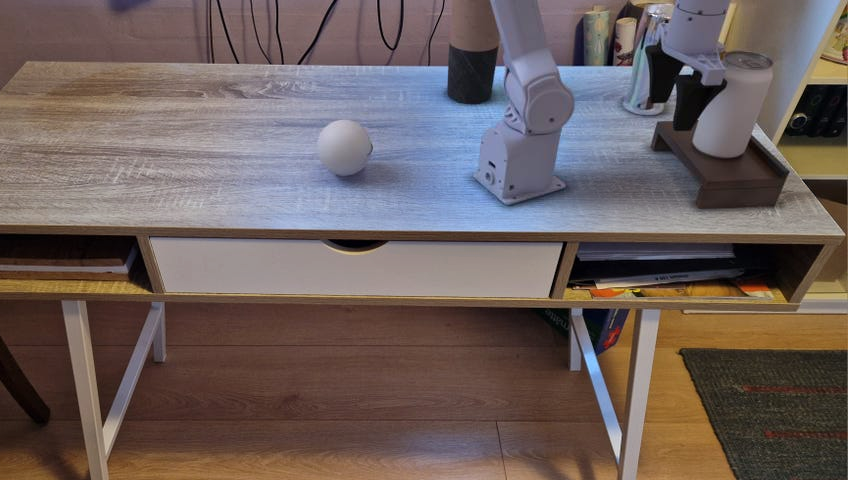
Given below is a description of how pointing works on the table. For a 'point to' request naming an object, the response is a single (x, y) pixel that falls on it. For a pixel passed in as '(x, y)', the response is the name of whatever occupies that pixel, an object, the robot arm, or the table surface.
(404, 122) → the table surface
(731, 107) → the can
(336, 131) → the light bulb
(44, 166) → the table surface
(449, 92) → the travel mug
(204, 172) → the table surface
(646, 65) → the beer glass
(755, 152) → the desk shelf
